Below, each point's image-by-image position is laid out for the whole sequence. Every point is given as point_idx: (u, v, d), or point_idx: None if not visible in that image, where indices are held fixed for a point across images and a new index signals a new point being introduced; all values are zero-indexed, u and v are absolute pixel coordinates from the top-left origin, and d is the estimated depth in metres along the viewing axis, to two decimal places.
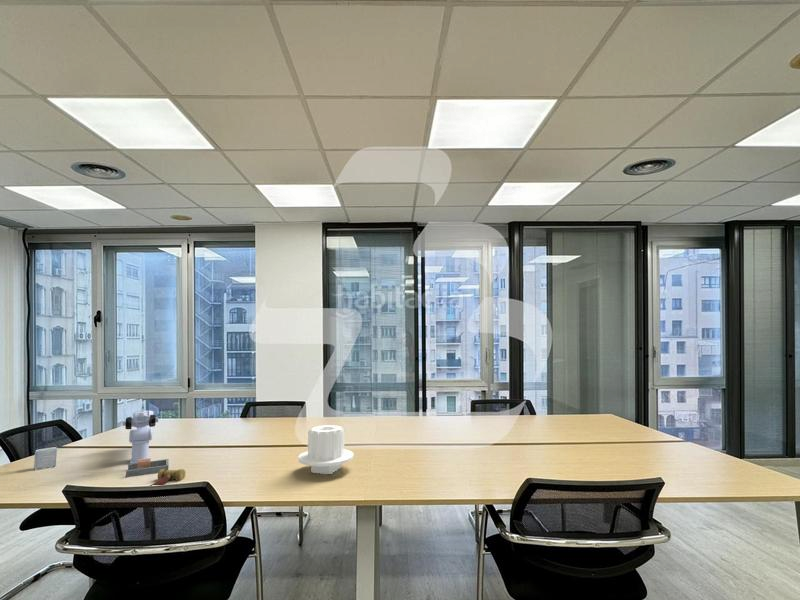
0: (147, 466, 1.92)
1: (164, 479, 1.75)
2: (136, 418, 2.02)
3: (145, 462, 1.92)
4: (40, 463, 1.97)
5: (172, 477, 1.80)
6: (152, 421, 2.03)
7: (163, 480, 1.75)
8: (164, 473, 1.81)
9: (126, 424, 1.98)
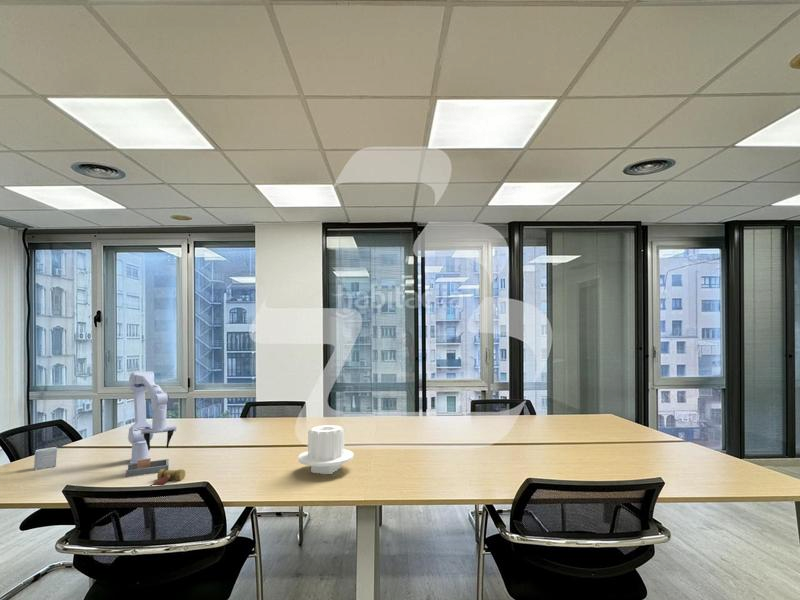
0: (147, 466, 1.92)
1: (164, 479, 1.75)
2: None
3: (145, 462, 1.92)
4: (40, 463, 1.97)
5: (172, 477, 1.80)
6: None
7: (163, 480, 1.74)
8: (164, 473, 1.81)
9: None
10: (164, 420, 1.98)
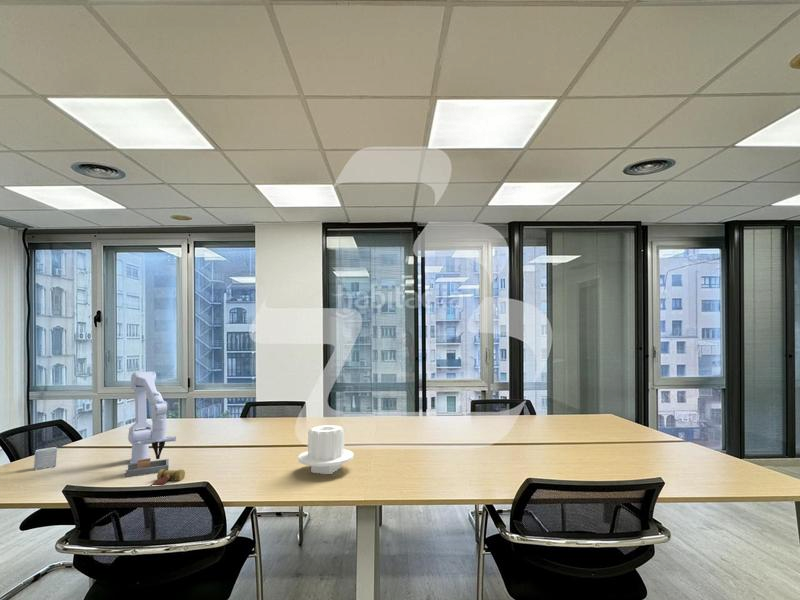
0: (147, 466, 1.92)
1: (163, 479, 1.75)
2: None
3: (145, 462, 1.92)
4: (40, 463, 1.97)
5: (171, 477, 1.80)
6: None
7: (162, 480, 1.74)
8: (164, 473, 1.80)
9: None
10: (164, 430, 1.97)
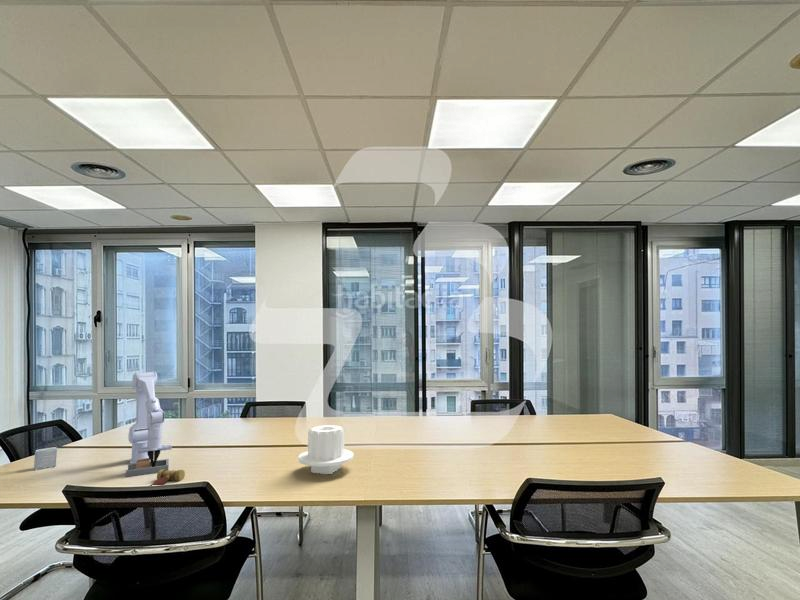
0: (146, 466, 1.92)
1: (163, 479, 1.75)
2: None
3: (144, 462, 1.92)
4: (40, 463, 1.97)
5: (171, 477, 1.80)
6: None
7: (162, 480, 1.74)
8: (163, 473, 1.80)
9: None
10: (159, 439, 1.96)
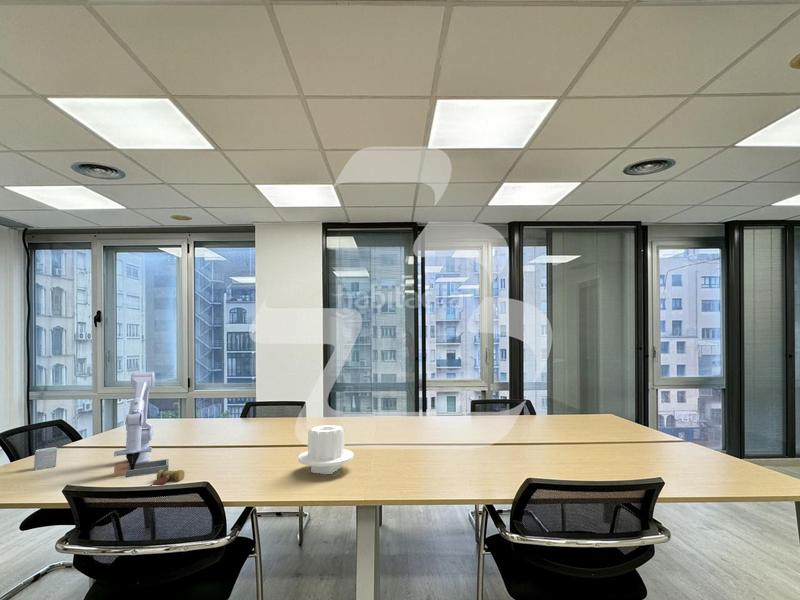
0: (124, 469, 1.88)
1: (163, 480, 1.75)
2: None
3: (123, 464, 1.88)
4: (40, 463, 1.97)
5: (171, 478, 1.79)
6: None
7: (162, 481, 1.74)
8: (163, 474, 1.80)
9: None
10: (138, 441, 1.92)
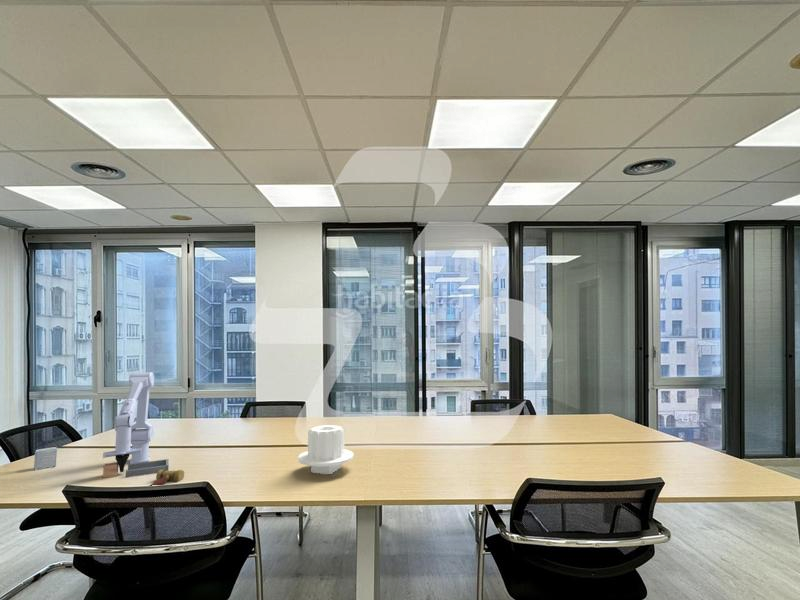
0: (114, 470, 1.86)
1: (162, 480, 1.75)
2: None
3: (112, 466, 1.86)
4: (40, 463, 1.97)
5: (171, 478, 1.79)
6: None
7: (161, 481, 1.74)
8: (163, 474, 1.80)
9: None
10: (128, 442, 1.90)
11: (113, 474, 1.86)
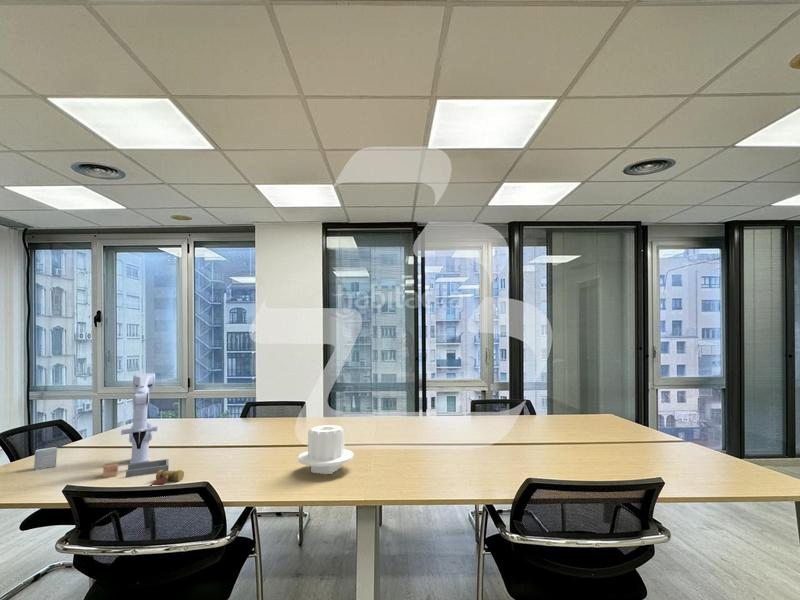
0: (114, 470, 1.86)
1: (162, 480, 1.74)
2: None
3: (112, 466, 1.86)
4: (40, 463, 1.97)
5: (170, 478, 1.79)
6: None
7: (161, 481, 1.73)
8: (162, 474, 1.80)
9: None
10: (145, 420, 1.98)
11: (113, 474, 1.86)
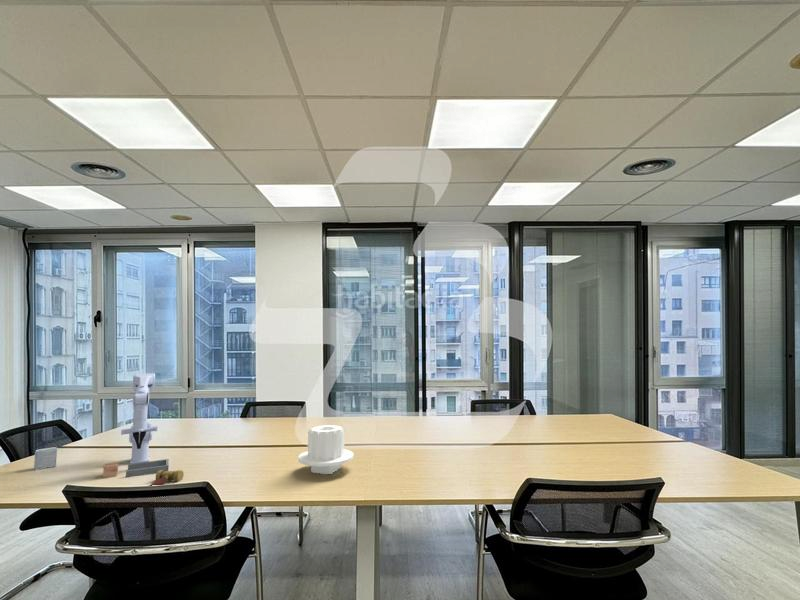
0: (114, 470, 1.86)
1: (162, 480, 1.74)
2: None
3: (112, 466, 1.86)
4: (40, 463, 1.97)
5: (170, 478, 1.79)
6: None
7: (161, 481, 1.73)
8: (162, 474, 1.80)
9: None
10: (145, 420, 1.98)
11: (113, 474, 1.86)
